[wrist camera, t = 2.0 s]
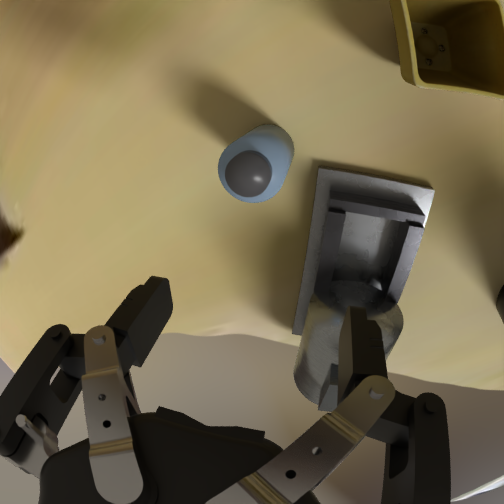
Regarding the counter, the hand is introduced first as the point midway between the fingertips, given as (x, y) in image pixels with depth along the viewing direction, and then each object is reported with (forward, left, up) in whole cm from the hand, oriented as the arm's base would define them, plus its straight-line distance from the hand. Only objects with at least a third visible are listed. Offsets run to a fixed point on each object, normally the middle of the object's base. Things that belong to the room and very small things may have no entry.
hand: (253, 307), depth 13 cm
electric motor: (+11, +8, -19) cm, 23 cm away
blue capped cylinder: (-2, -3, -19) cm, 20 cm away
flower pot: (-15, +11, -20) cm, 27 cm away
